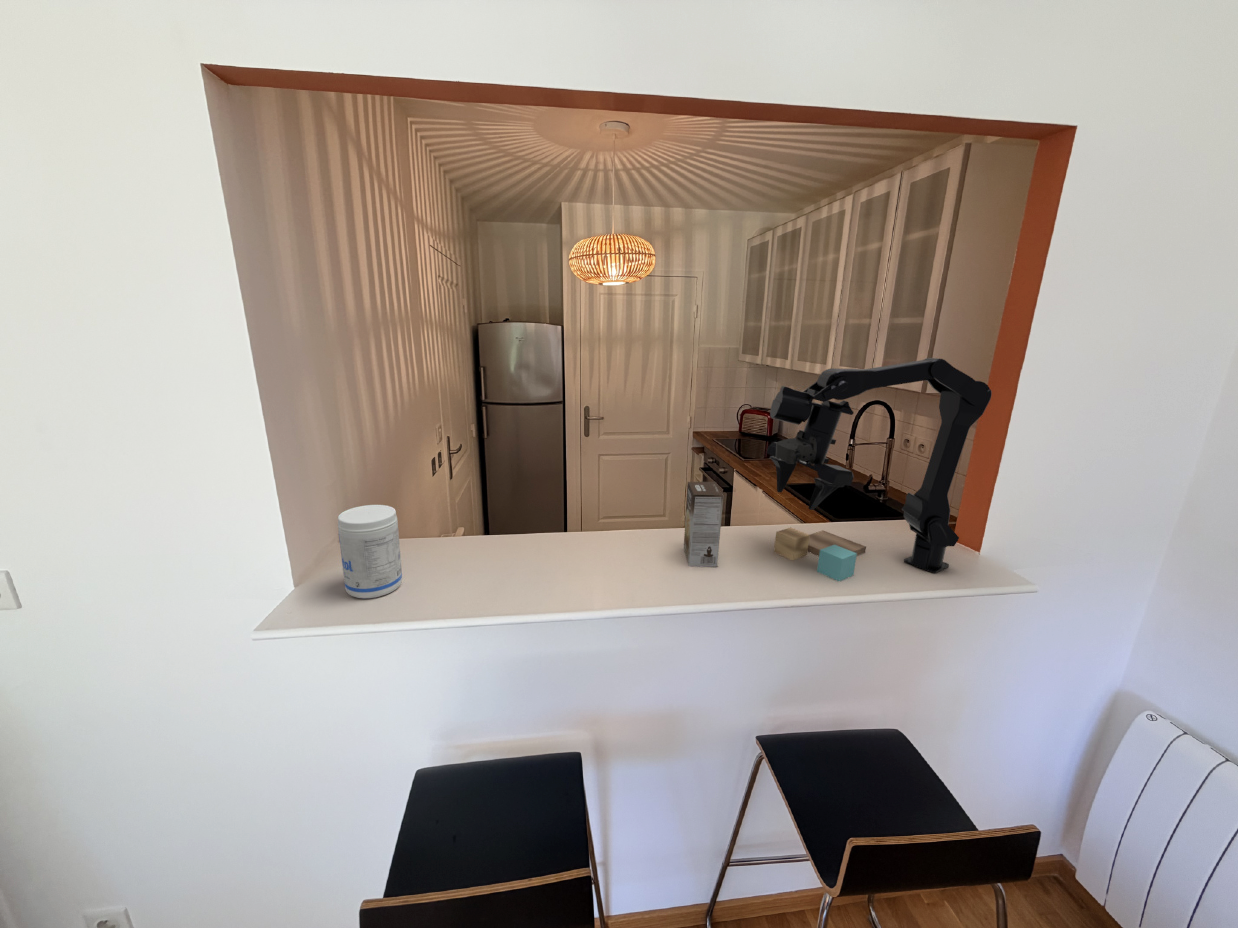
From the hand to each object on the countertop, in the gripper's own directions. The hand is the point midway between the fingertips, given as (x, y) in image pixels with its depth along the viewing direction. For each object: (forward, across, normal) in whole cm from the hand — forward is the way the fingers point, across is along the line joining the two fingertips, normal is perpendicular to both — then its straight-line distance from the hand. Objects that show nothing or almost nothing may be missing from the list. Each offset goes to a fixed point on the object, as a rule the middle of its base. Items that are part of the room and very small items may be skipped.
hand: (794, 500), depth 104 cm
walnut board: (+11, +1, +15) cm, 19 cm away
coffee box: (+17, -6, -15) cm, 24 cm away
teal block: (+12, +11, +6) cm, 17 cm away
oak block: (+13, 0, +5) cm, 14 cm away
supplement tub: (+30, -19, -77) cm, 85 cm away
